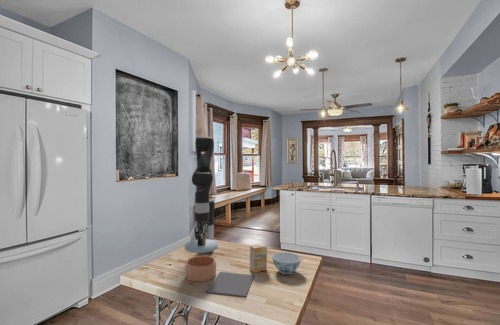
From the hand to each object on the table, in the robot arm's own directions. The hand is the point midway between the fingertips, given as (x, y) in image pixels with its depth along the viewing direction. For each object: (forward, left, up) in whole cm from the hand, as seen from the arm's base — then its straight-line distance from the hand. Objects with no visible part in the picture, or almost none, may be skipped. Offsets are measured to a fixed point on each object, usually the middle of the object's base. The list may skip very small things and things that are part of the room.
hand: (201, 243), depth 125 cm
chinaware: (-13, +43, -16) cm, 48 cm away
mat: (+6, +18, -16) cm, 25 cm away
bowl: (0, 0, -16) cm, 16 cm away
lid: (0, 0, -2) cm, 2 cm away
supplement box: (-12, +28, -16) cm, 34 cm away
